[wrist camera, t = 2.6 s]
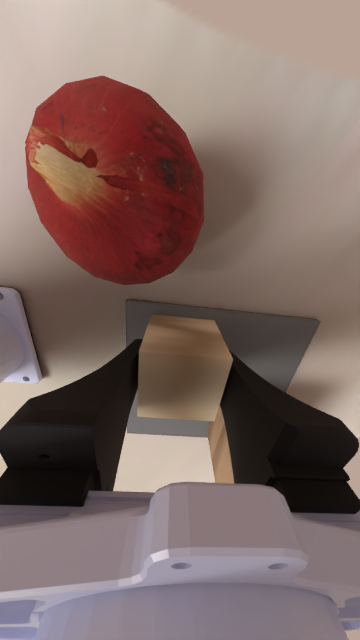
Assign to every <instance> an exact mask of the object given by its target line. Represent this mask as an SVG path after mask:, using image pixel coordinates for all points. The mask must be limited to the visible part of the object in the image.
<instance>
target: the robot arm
mask: <svg viewBox="0 0 360 640" xmlns="http://www.w3.org/2000/svg"><path fill="white" fill-rule="evenodd" d="M1 293H2V294H3V296H4V297H3V296H2V295H1ZM142 341H143V339H135V340H134V341H133V342H132V343H131V344H130V345H129V346H128V347H127V348H125V349H124V350H123V351H122V352H121V353H120V354H119V355H117V356H116V357H115V358H113V359H112V360H111V361H110V362H108V363H107V364H105V365H104V366H102V367H101V368H99V369H98V370H96V371H94V372H92V373H91V374H89V375H87V376H85V377H83V378H81V379H79V380H77V381H75V382H73V383H71V384H68V385H66V386H64V387H61V388H59V389H56V390H54V391H51V392H48V393H45V394H43V395H40V396H37V397H34V398H31V399H29V400H28V401H27V402H26V403H25V404H24V405H23V406H22V407H21V408H20V409H19V410H18V411H17V412H16V413H15V415H14V416H13V417H12V418H11V419H10V420H9V421H8V422H7V423H6V424H5V425H4V427H3V428H2V429H1V430H0V453H1V455H2V457H3V459H4V461H5V463H6V465H7V467H8V468H7V469H6V471H5V472H4V473H3V475H2V476H1V477H0V639H5V640H348V637H347V635H346V632H345V631H352V630H360V499H358V497H357V496H356V495H355V493H354V491H353V490H352V489H351V487H350V486H349V484H348V483H347V482H346V481H349V480H350V478H349V476H348V474H347V473H346V472H345V470H344V469H343V468H344V466H345V465H346V464H347V463H348V462H349V461H350V460H351V459H352V457H353V456H354V455H355V454H356V452H357V451H358V447H359V442H358V439H357V438H356V437H355V436H354V434H353V433H352V432H351V431H350V430H349V429H348V428H347V427H346V425H345V424H344V423H343V422H342V421H341V420H340V419H338V418H336V417H333V416H331V415H329V414H326V413H324V412H322V411H320V410H317V409H315V408H313V407H311V406H309V405H307V404H305V403H303V402H301V401H299V400H297V399H295V398H294V397H292V396H290V395H288V394H287V393H285V392H283V391H281V390H280V389H278V388H277V387H275V386H273V385H272V384H271V383H269V382H268V381H266V380H265V379H263V378H262V377H261V376H259V375H258V374H257V373H255V372H254V371H253V370H252V369H250V368H249V367H248V366H247V365H246V364H245V363H243V362H242V361H241V360H240V359H239V358H238V357H237V356H236V355H235V354H233V353H232V352H231V351H230V350H229V349H228V350H229V352H230V354H231V356H232V358H233V362H232V365H231V368H230V372H229V375H228V378H227V382H226V385H225V388H224V392H223V395H222V398H221V401H220V407H221V410H222V414H223V418H224V422H225V428H226V433H227V439H228V445H229V450H230V457H231V464H232V470H233V477H234V484H231V483H204V482H180V483H171V484H169V485H166V486H164V487H162V488H159V489H158V490H157V491H156V492H155V493H148V492H118V491H113V488H114V483H115V478H116V473H117V468H118V464H119V459H120V454H121V450H122V445H123V441H124V436H125V432H126V427H127V423H128V419H129V414H130V411H131V407H132V404H133V401H134V399H135V396H136V393H137V390H138V368H139V350H140V347H141V344H142ZM41 379H42V375H41V371H40V367H39V364H38V360H37V356H36V352H35V349H34V345H33V341H32V338H31V334H30V330H29V326H28V323H27V319H26V315H25V312H24V308H23V304H22V300H21V297H20V294H19V293H18V292H17V291H16V290H15V289H12V288H6V287H0V383H1V382H2V381H4V382H18V383H32V384H37V383H39V382H40V381H41Z"/></svg>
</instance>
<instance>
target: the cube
mask: <svg viewBox="0 0 360 640" xmlns="http://www.w3.org/2000/svg"><path fill="white" fill-rule="evenodd" d="M232 362H233V358H232V356H231V354H230V352H229V350H228V347H227V345H226V343H225V341H224V339H223V337H222V335H221V333H220V331H219V329H218V327H217V325H216V322H215V320H206V319H196V318H187V317H177V316H167V315H157V314H151V317H150V320H149V323H148V326H147V329H146V332H145V335H144V338H143V341H142V344H141V347H140V350H139V368H138V406H137V417H151V418H167V419H183V420H199V421H215V418H216V415H217V411H218V408H219V405H220V401H221V398H222V395H223V392H224V388H225V385H226V382H227V378H228V375H229V372H230V368H231V365H232Z"/></svg>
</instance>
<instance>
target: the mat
mask: <svg viewBox="0 0 360 640" xmlns="http://www.w3.org/2000/svg"><path fill="white" fill-rule="evenodd" d="M151 314H157V315H167V316H177V317H187V318H196V319H206V320H215V322H216V325H217V327H218V329H219V331H220V333H221V335H222V337H223V339H224V341H225V343H226V345H227V347H228V349H229V350H230V351H231V352H232V353H233V354H235V355H236V356H237V357H238V358H239V359H240V360H241V361H242V362H243V363H245V364H246V365H247V366H248V367H249V368H250V369H252V370H253V371H254V372H255V373H257V374H258V375H259V376H261V377H262V378H263V379H265V380H266V381H268V382H269V383H271V384H272V385H273V386H275V387H277V388H278V389H280V390H281V391H283V392H286V390H287V388H288V386H289V384H290V382H291V380H292V378H293V376H294V374H295V372H296V370H297V368H298V366H299V364H300V362H301V360H302V358H303V356H304V354H305V352H306V350H307V348H308V346H309V344H310V342H311V340H312V338H313V336H314V334H315V332H316V330H317V328H318V326H319V324H320V321H318V320H317V319H308V318H299V317H289V316H280V315H270V314H261V313H252V312H242V311H233V310H224V309H214V308H205V307H196V306H186V305H177V304H167V303H158V302H149V301H139V300H130V299H127V300H126V348H127V347H128V346H129V345H130V344H131V343H132V342H133V341H134V340H135V339H143V338H144V335H145V332H146V329H147V326H148V323H149V320H150V317H151ZM137 406H138V390H137V393H136V396H135V399H134V401H133V404H132V407H131V411H130V414H129V419H128V423H127V433H135V434H153V435H171V436H189V437H207V438H208V434H207V430H208V426H209V423H210V421H199V420H183V419H167V418H151V417H137Z"/></svg>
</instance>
